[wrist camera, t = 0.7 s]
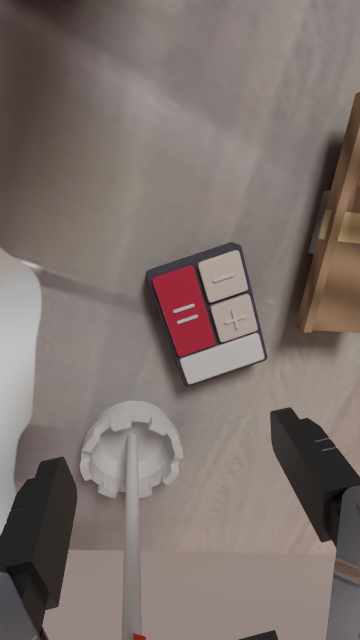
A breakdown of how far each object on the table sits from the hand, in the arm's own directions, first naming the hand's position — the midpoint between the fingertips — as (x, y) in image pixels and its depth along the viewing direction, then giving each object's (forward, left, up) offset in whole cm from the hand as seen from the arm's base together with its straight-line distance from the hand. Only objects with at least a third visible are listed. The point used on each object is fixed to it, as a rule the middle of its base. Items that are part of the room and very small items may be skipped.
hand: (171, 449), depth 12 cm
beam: (-8, +23, -27) cm, 36 cm away
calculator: (+4, +8, -28) cm, 29 cm away
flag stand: (+23, 0, -27) cm, 36 cm away
